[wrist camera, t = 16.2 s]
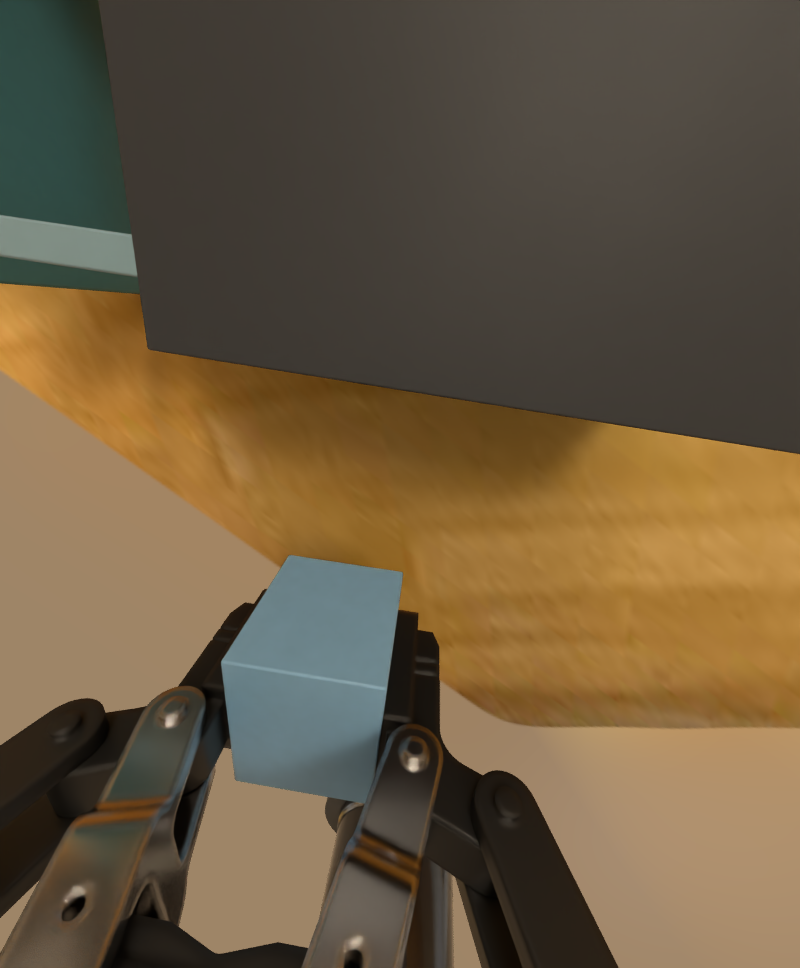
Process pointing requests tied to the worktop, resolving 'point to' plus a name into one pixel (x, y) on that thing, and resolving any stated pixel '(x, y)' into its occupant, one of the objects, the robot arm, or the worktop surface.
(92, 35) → the teal drawer
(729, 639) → the worktop surface
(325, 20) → the dark grey drawer cabinet
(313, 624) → the pale blue rectangular block
